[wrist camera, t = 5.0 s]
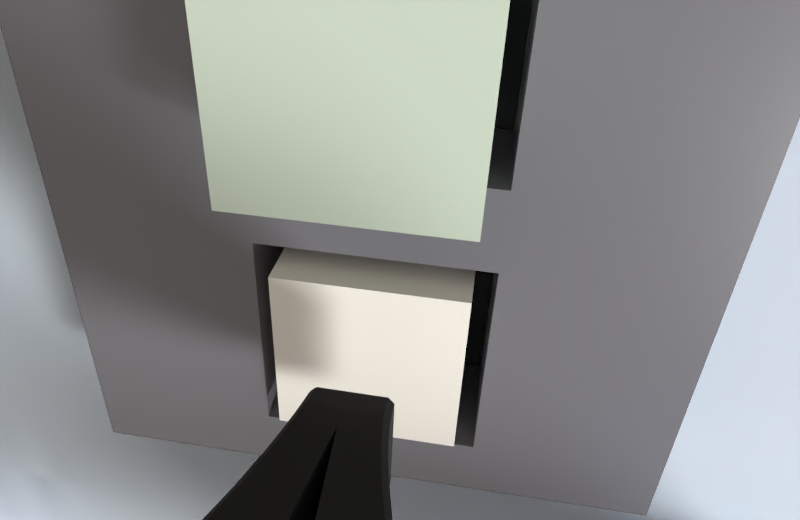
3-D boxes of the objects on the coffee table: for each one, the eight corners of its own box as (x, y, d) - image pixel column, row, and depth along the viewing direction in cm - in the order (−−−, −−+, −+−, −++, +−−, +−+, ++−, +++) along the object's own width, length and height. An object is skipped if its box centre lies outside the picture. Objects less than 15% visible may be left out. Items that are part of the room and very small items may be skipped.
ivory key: (464, 354, 16) (453, 446, 14) (314, 334, 16) (279, 419, 14) (481, 221, 14) (471, 303, 12) (310, 202, 14) (267, 277, 12)
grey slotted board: (631, 427, 17) (645, 515, 14) (161, 360, 18) (113, 432, 16) (1126, -1074, 6) (1437, -1535, 4) (-111, -973, 7) (-364, -1282, 5)
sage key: (489, 152, 11) (480, 242, 9) (276, 129, 11) (212, 210, 9) (521, -98, 9) (517, -65, 7) (260, -113, 9) (173, -88, 7)
